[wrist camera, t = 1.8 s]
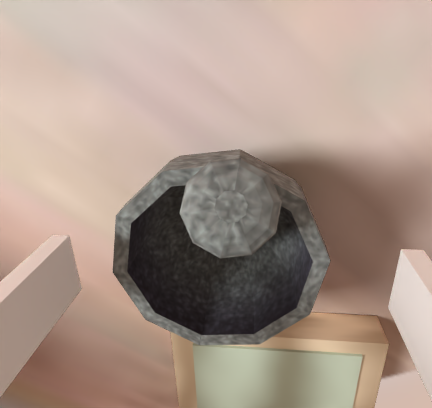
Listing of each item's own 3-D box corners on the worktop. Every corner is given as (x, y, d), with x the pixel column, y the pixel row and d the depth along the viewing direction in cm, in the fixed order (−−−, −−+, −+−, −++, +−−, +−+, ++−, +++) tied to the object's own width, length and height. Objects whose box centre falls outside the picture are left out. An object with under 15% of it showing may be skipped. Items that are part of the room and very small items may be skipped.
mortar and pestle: (282, 281, 24) (301, 480, 13) (148, 252, 24) (57, 425, 13) (334, 117, 19) (436, 216, 8) (166, 84, 19) (45, 136, 8)
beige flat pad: (189, 427, 31) (183, 460, 29) (177, 305, 26) (169, 332, 23) (350, 442, 30) (358, 478, 27) (376, 315, 24) (390, 346, 22)
